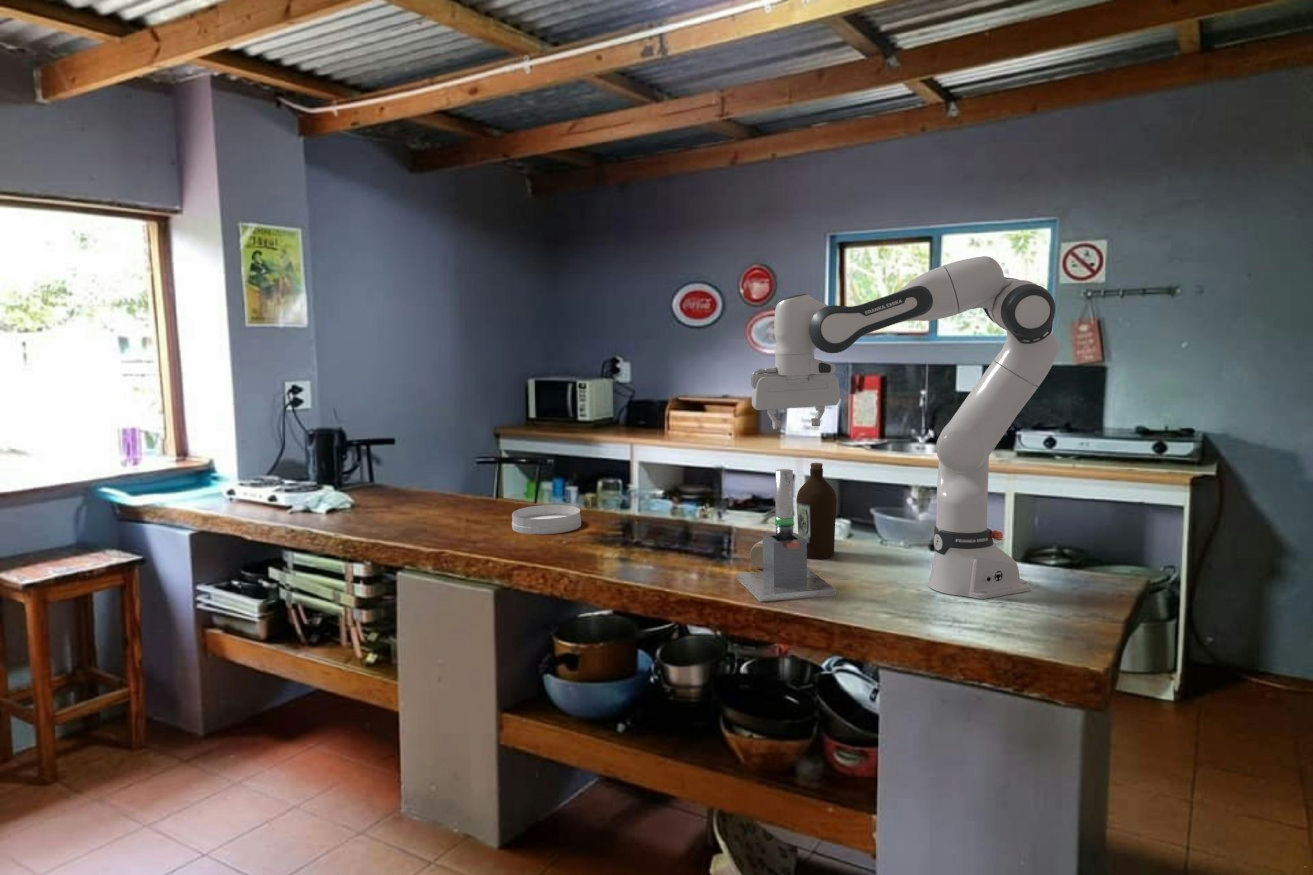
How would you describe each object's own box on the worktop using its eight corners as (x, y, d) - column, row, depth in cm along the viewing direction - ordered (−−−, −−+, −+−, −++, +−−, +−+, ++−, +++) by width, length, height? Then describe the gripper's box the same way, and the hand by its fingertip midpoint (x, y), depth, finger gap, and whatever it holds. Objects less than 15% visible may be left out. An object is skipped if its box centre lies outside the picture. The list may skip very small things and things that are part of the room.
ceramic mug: (747, 568, 212) (747, 539, 211) (764, 561, 218) (765, 533, 217) (783, 576, 205) (783, 546, 204) (800, 568, 211) (800, 539, 210)
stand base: (806, 573, 206) (806, 526, 205) (835, 595, 189) (835, 543, 187) (737, 579, 203) (736, 531, 201) (760, 601, 185) (759, 549, 184)
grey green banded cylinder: (789, 543, 197) (789, 468, 195) (796, 547, 193) (796, 471, 191) (772, 544, 196) (772, 469, 194) (778, 548, 192) (778, 472, 190)
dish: (503, 524, 270) (503, 509, 270) (567, 516, 280) (567, 502, 279) (523, 538, 250) (522, 522, 250) (591, 529, 260) (591, 514, 259)
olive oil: (824, 548, 230) (824, 459, 227) (843, 557, 220) (844, 465, 217) (789, 551, 227) (789, 462, 224) (807, 561, 217) (807, 467, 214)
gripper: (755, 369, 183) (757, 431, 184) (842, 365, 186) (843, 425, 188) (746, 369, 189) (748, 429, 191) (831, 364, 193) (832, 423, 194)
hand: (796, 427), depth 189 cm, fingers open, 8 cm apart
